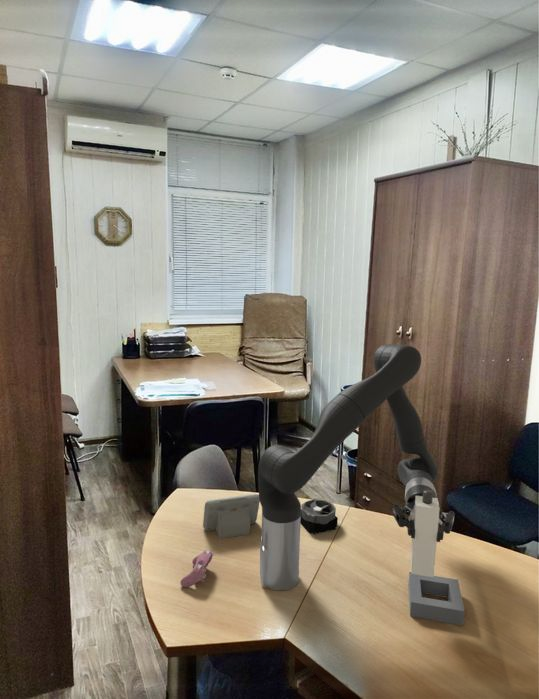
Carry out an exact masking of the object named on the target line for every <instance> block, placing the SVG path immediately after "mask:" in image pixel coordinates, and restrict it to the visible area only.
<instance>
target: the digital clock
mask: <svg viewBox="0 0 539 699" xmlns="http://www.w3.org/2000/svg"><path fill="white" fill-rule="evenodd" d="M259 507H260V500H259V493H248V494H240V495H233V496H226V497H225V496H224V497H219V498H211V499H208V500H206V502H205V503H204V510H203V511H204V512H203V520H202V528H203V529H204V530H205V531H216V533H217V535H218V538H219V539H226V538H232V537H238V536H244V535H245V536H246V535H250V534H251V525H252V524H255V523H256V522H257V519H258V513H259Z"/></svg>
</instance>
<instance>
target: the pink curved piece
mask: <svg viewBox="0 0 539 699" xmlns="http://www.w3.org/2000/svg"><path fill="white" fill-rule="evenodd" d="M213 556H214V553H213V552H212V551H210V550H203V551H202V553H200V554H198V555H196V556H195V557H193V559H192V565H193V566H194V567H193V569H192V571H191V572H190V573H188V574H187V575H185V576H184V577H182V578H181V579H180V586H181V587H183V588H190V587H192V586H195V584H197V583H200V580H202V579H205V578H206V576H207V574H206V572H207V567H208V566H209V564H210V563H211V562H212V560H213Z"/></svg>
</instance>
